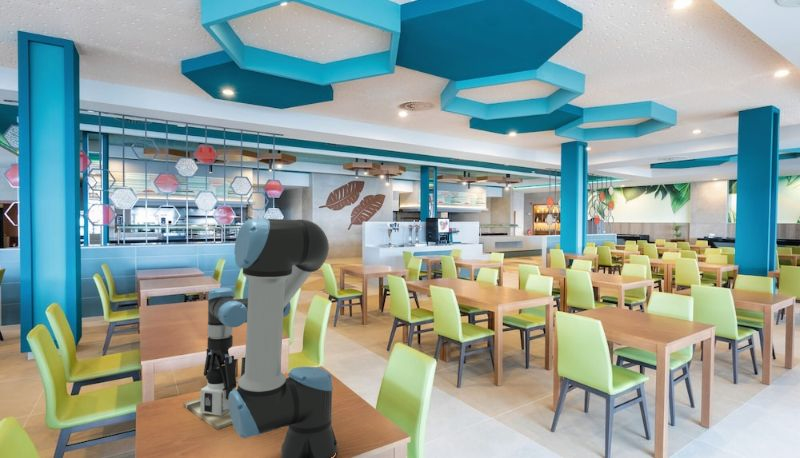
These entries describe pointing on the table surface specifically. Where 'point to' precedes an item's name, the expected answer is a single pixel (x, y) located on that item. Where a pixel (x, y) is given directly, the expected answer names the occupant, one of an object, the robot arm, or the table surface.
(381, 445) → the table surface
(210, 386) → the container
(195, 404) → the metal panel
